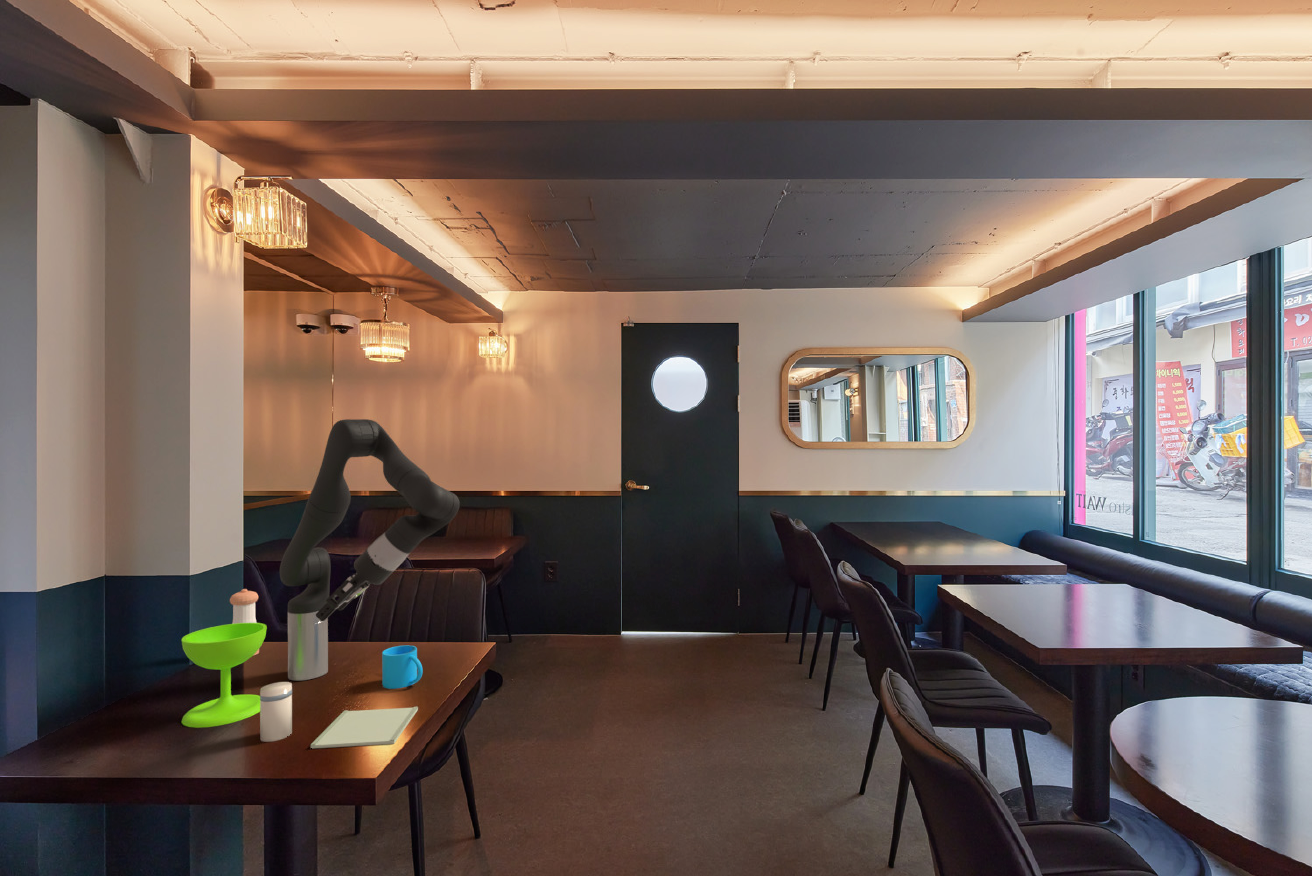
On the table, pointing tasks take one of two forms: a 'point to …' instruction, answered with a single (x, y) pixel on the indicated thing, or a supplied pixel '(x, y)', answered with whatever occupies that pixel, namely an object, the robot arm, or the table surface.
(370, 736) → the mat
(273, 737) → the cream domed container
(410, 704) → the table surface
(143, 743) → the table surface
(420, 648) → the table surface
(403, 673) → the mug
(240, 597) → the salt shaker
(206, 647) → the wineglass
